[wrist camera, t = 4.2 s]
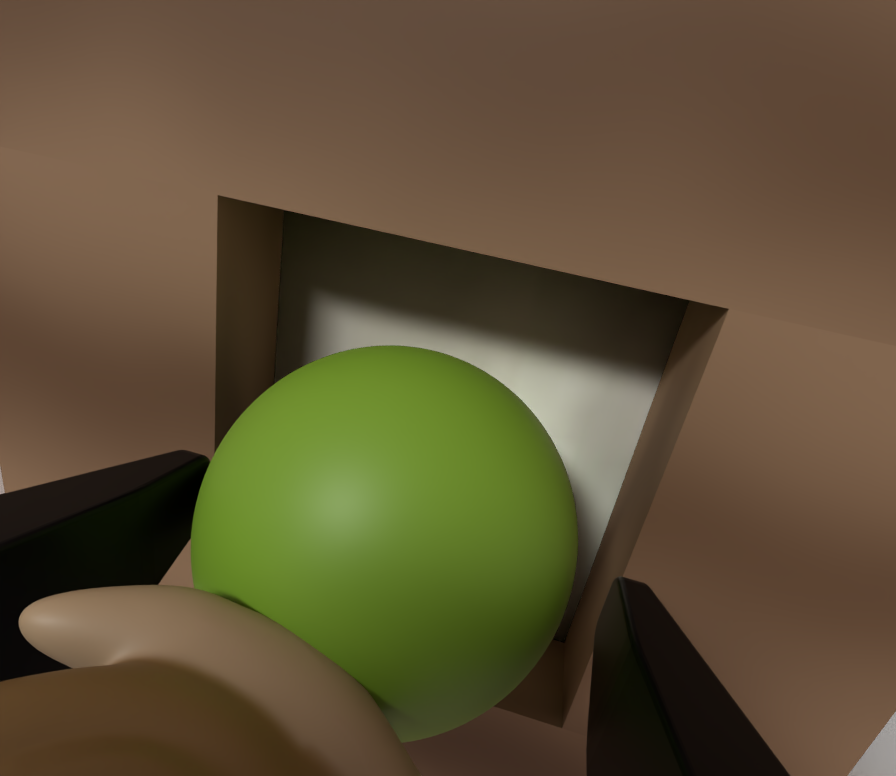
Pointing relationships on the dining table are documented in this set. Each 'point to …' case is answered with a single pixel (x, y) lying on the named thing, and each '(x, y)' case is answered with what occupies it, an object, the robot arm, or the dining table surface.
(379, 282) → the dining table surface
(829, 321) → the frame
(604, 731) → the robot arm
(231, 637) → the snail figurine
